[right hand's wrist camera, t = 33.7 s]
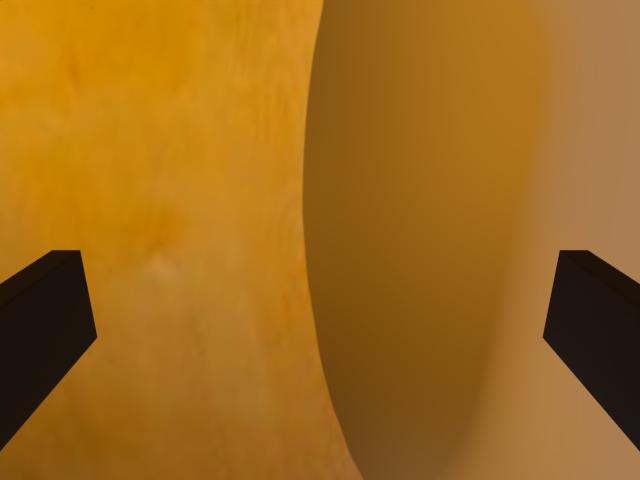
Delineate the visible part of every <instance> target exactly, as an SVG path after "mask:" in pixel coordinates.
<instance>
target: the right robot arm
mask: <svg viewBox="0 0 640 480" xmlns="http://www.w3.org/2000/svg"><path fill="white" fill-rule="evenodd" d="M96 338H97V333H96V328H95V323H94V318H93V313H92V308H91V303H90V298H89V293H88V288H87V282H86V277H85V272H84V267H83V262H82V257H81V252H80V250H52V251H50V252H49V253H47V254H46V255H44V256H43V257H41V258H40V259H38V260H36V261H35V262H33V263H32V264H30V265H29V266H27V267H26V268H24V269H23V270H21V271H19V272H18V273H16V274H15V275H13V276H12V277H10V278H9V279H7V280H6V281H4V282H3V283H1V284H0V451H1V450H2V449H3V447H4V446H5V445H6V444H7V443H8V442H9V440H10V439H11V438H12V437H13V436H14V435H15V433H16V432H17V431H18V430H19V429H20V428H21V426H22V425H23V424H24V423H25V422H26V420H27V419H28V418H29V417H30V416H31V415H32V413H33V412H34V411H35V410H36V409H37V408H38V406H39V405H40V404H41V403H42V402H43V401H44V399H45V398H46V397H47V396H48V395H49V394H50V392H51V391H52V390H53V389H54V388H55V386H56V385H57V384H58V383H59V382H60V381H61V379H62V378H63V377H64V376H65V375H66V374H67V372H68V371H69V370H70V369H71V368H72V367H73V365H74V364H75V363H76V362H77V361H78V360H79V358H80V357H81V356H82V355H83V354H84V352H85V351H86V350H87V349H88V348H89V347H90V345H91V344H92V343H93V342H94V341H95V340H96ZM543 338H544V340H545V341H546V342H547V343H548V344H549V345H550V347H551V348H552V349H553V350H554V351H555V352H556V354H557V355H558V356H559V357H560V358H561V359H562V361H563V362H564V363H565V364H566V365H567V367H568V368H569V369H570V370H571V371H572V372H573V374H574V375H575V376H576V377H577V378H578V379H579V381H580V382H581V383H582V384H583V385H584V386H585V388H586V389H587V390H588V391H589V392H590V394H591V395H592V396H593V397H594V398H595V399H596V401H597V402H598V403H599V404H600V405H601V406H602V408H603V409H604V410H605V411H606V412H607V413H608V415H609V416H610V417H611V418H612V419H613V420H614V422H615V423H616V424H617V425H618V426H619V428H620V429H621V430H622V431H623V432H624V433H625V435H626V436H627V437H628V438H629V439H630V440H631V442H632V443H633V444H634V445H635V446H636V447H637V449H638V450H639V451H640V284H639V283H637V282H636V281H634V280H633V279H631V278H630V277H628V276H627V275H625V274H624V273H622V272H620V271H619V270H617V269H616V268H614V267H613V266H611V265H610V264H608V263H607V262H605V261H604V260H602V259H600V258H599V257H597V256H596V255H594V254H593V253H591V252H590V251H588V250H560V252H559V257H558V262H557V267H556V272H555V277H554V282H553V288H552V293H551V298H550V303H549V308H548V313H547V318H546V323H545V328H544V333H543Z"/></svg>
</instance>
